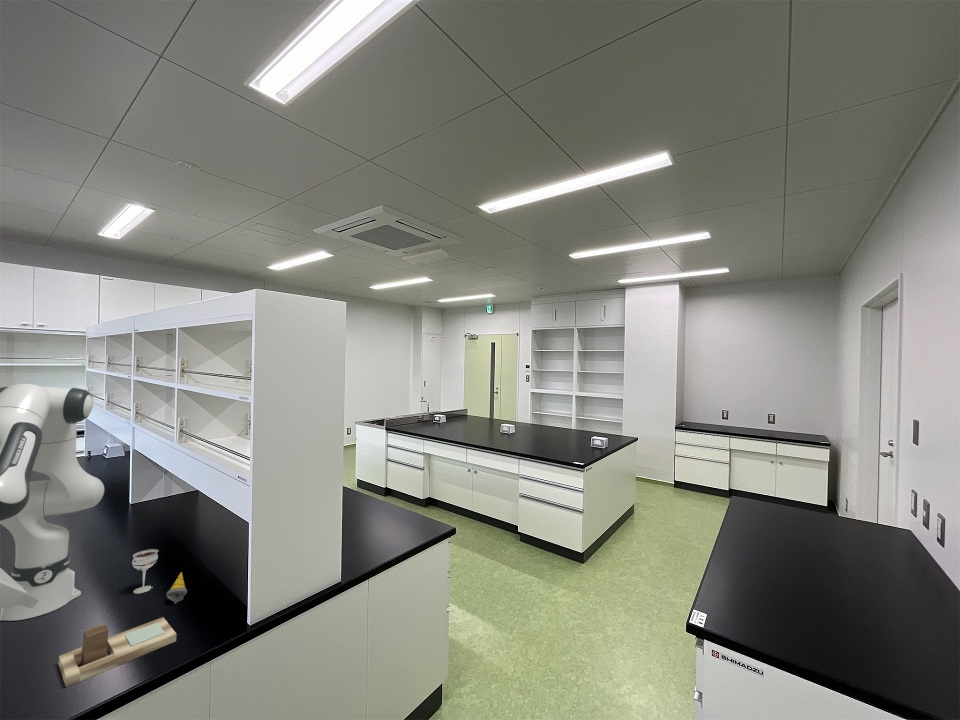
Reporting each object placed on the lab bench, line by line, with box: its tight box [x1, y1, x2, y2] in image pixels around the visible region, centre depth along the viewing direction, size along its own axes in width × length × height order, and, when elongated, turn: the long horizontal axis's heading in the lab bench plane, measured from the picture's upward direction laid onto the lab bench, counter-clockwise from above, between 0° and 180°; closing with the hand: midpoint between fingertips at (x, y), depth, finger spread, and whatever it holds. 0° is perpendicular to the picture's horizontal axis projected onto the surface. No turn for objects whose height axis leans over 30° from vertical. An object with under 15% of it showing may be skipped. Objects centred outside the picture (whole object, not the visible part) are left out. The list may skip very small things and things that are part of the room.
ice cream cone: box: [165, 571, 188, 605], centre depth 128 cm, size 5×5×10 cm
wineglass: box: [131, 548, 159, 594], centre depth 133 cm, size 7×7×12 cm
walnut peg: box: [80, 623, 109, 666], centre depth 99 cm, size 4×4×8 cm
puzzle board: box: [57, 616, 177, 688], centre depth 103 cm, size 12×21×2 cm, turn 143°
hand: (28, 597), depth 89 cm, fingers open, 8 cm apart
